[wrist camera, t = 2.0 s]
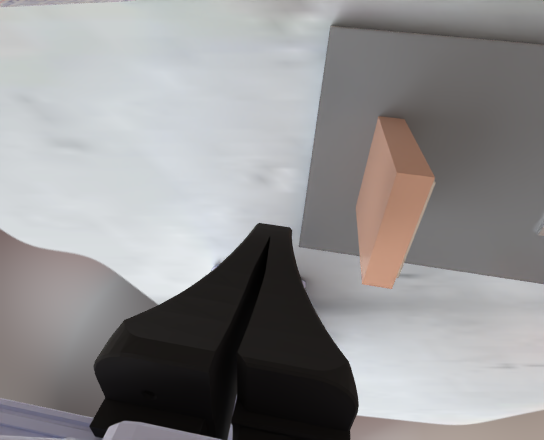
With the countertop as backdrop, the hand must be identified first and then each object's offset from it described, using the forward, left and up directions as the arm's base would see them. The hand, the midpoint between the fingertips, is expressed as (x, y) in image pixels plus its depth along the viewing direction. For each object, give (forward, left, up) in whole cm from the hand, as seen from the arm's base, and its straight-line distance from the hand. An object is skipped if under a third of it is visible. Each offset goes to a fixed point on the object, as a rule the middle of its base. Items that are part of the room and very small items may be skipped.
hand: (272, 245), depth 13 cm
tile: (0, -5, -9) cm, 10 cm away
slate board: (0, -10, -10) cm, 14 cm away
